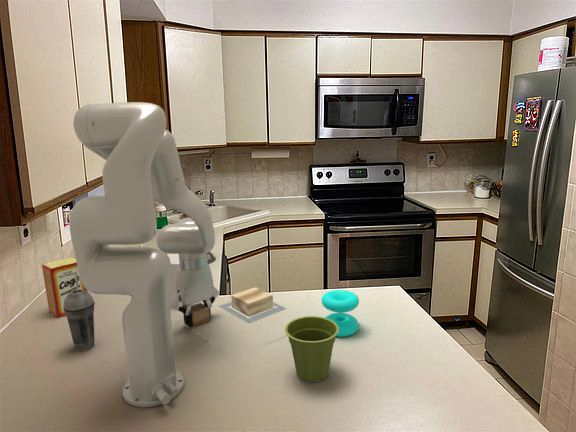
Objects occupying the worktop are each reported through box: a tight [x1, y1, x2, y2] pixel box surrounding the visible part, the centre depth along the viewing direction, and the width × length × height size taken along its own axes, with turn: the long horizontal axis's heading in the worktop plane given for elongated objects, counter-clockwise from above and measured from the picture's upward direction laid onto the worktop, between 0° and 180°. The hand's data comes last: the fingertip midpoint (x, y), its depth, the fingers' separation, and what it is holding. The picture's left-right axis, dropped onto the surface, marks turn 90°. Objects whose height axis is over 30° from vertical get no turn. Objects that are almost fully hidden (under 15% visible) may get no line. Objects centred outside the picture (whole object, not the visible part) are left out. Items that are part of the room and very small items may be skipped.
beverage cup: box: [63, 272, 95, 352], centre depth 107 cm, size 7×7×20 cm
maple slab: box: [230, 286, 274, 316], centre depth 128 cm, size 9×9×4 cm
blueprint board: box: [219, 301, 287, 324], centre depth 129 cm, size 16×14×1 cm
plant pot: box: [284, 315, 339, 383], centre depth 94 cm, size 12×12×11 cm
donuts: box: [321, 289, 360, 338], centre depth 114 cm, size 10×10×10 cm
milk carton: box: [167, 253, 194, 308], centre depth 132 cm, size 7×7×19 cm
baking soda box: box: [41, 256, 88, 319], centre depth 131 cm, size 10×6×16 cm
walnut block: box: [190, 302, 211, 331], centre depth 120 cm, size 5×5×5 cm
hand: (198, 322), depth 120 cm, fingers closed on walnut block, 5 cm apart
